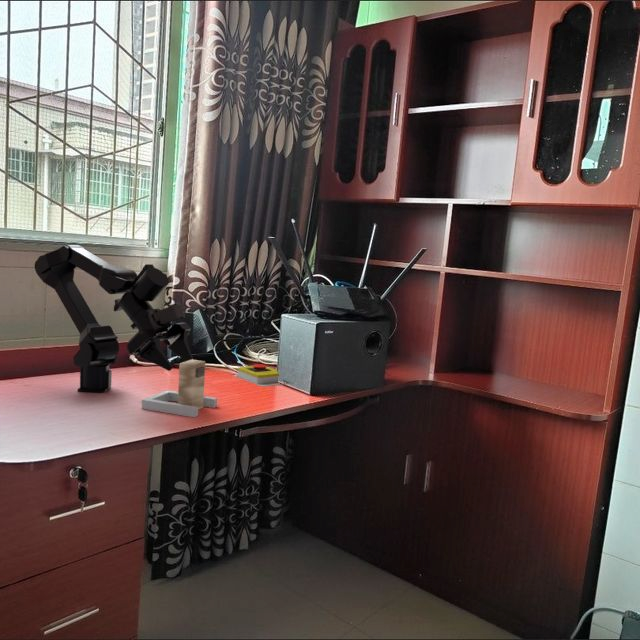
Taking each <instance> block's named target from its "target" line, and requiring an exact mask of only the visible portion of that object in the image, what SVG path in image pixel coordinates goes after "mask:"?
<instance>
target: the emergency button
mask: <svg viewBox="0 0 640 640" xmlns="http://www.w3.org/2000/svg"><path fill="white" fill-rule="evenodd" d="M277 370H278V369H276V368H272V367H268V366H267V365H266V364H261V363H260V364H259V363H255V364H253V365H249V366H239V367H237V374H234V377H236V378H238V379H241V380H244V381H245V382H248V383H251V384H255V385H256V386H259V387H274V386H281V385H283V384H280V383H278V376H279V373H278V372H277Z"/></svg>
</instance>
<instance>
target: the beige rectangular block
mask: <svg viewBox="0 0 640 640" xmlns="http://www.w3.org/2000/svg"><path fill="white" fill-rule="evenodd" d="M205 376H206V361H205V360H199V359H198V360H197V359H194V358H193V359H192V360H189V361H185V360H184V361H182V362H180V363H179V369H178V391H177V392H178V402H177V404H183V405H189V406H195V407H198V411H199V410H200V409H203V408H204V406H203V402H204V396H205V381H206V380H205V379H206V378H205Z"/></svg>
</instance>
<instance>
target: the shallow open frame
mask: <svg viewBox="0 0 640 640" xmlns="http://www.w3.org/2000/svg"><path fill="white" fill-rule="evenodd" d="M203 407H207V408H214V409H215V408H216V407H218V397H214V396H205V395H204V402H203ZM141 409H144V410H149V411H154V412H155V411H156V412H161V413H166V414H172V415H179V416H184V417H190V418H196V417H198V416H199V410H198V407H195V406H189V405H183V404H178V391H175V390H164V391H162V392H158V393H156V394H153V395H151V396H148V397H146V398H143V399H142V400H141Z"/></svg>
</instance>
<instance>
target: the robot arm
mask: <svg viewBox="0 0 640 640" xmlns="http://www.w3.org/2000/svg"><path fill="white" fill-rule="evenodd" d="M33 267H34V270H35V273H36V274H37V277H39V279H40V280H41V281H42V282H43V284H46V285H47V286H48V287H50V288H52V289H54V292H56V294H57V296H58V298H59V299H60V301H61V303H62V305H63V306H64V308H65V310H66V312H67V314H68V316H69V317H70V318H71V321H72V322H73V324H74V325H75V327H76V329H77V331H78V333H79V339H78V341H79V342H78V347H79V350H78V351H77V352H76V353H75V354H74V356H73V357H72V358H73V359H72V360H73V363H74V366H76V367H79V369H80V370H79V387H78V388H77V392H87V393H88V392H90V393H105V392H107V391H108V390H109V389H110V388H111V387H112V376H113V375H112V370H111V369H110V365H115V364H116V361H117V358H118V355H119V351H120V343H119V341H118V339H119V337H118V336H117V335H116V334H115V333H114V330H113V328H112V326H110V325H101V324H99V322H98V320H97V319H96V317H95V315H94V314H93V312H92V310H91V308H90V307H89V304H87V301H86V300H85V298H84V296H83V295H82V293H81V291H80V289H79V288H78V285H76V282H75V281H74V277H75V272H76V271H75V270H76V269H77V268H78V269H80V270H82V271H83V272H84V273H86V274H88V275H90V276H92V277H93V278H94V279H96V280H97V281H98V285H99V287H101V288H102V289H103V290H104V291H105V292H106V293H108V294H109V295H121V294H122V296H121V297H120V298H117V299H114V305H113V312H119V311H123V312H124V314H126V316H127V317H128V319H129V320H130V321H131V323H132V324H131V325H130V327H131V329H132V330H136V329H137V330H138V331H137V332H136V334H134V335H133V336H132V337H131V338H130V339H129V340H128V341H127V343H126V350H127V351H128V352H129V354H130V355H131V356H134V355H136V357H137V358H139V357H140V358H141V359H145V360H146V361H149V362H150V363H153V364H154V365H156V366H158V367H160V368H162V369H164V370H166V371H168V372H169V371H171V370H172V369H173V366H172V364H171V361H170V360H169V358H168V357H167V355H166V354H165V352H164V351H163V349H162V347H161V341H163V342H164V344H165V345H167V346H168V347H167V348H168V349H169V350H170V351H172V352H173V353H174V354H175V355H176V356H178V357H180V358H181V359H182V360H184V362H185V361H189V360H192V359H193V360H194V358H193V355H192V353H191V349H190V346H189V342H188V338H189V335H190V331H191V330H192V328H191V327H190V326H189V324H188V323H187V322H183V321H182V322H177V323H174V324H173V323H172V322H175V321H178V320H180V319H184V318H186V315H185V314H186V310H187V308H186V307H184V305H183V304H181V302H174V303H173V304H170V306H167V307H165V308H162V309H160V308H154V307H153V306H152V305H151V304H150V302H154V301H155V300H156V299H157V298H158V297H159V296H160V294H162V292H163V291H164V290H165V288H167V286H169V283H170V280H169V278H168V275H167V274H165V273H164V272H163V271H162V270H160V269H159V268H156V267H155V266H154V264H152V263H151V264H148V263H146V264H145V265H143V267H142V269H141V270H140V272H139V273H138V274H137V272H136V271H134V270H133V269H130V268H126V267H124V266H123V267H122V266H117V265H113V264H111V263H109V262H107V261H106V260H104V259H102V258H100V257H99V256H97V255H95V254H93V253H91V252H90V251H88V250H87V249H85V247H83V246H81V245H78V244H77V245H76V244H64V245H62V246H61V247H59V248H58V249H55V250H53V251H51V252H47V253H45V254H43V255H42V254H41V255H39V256H38V258H37V259H36V260H35V262H34V266H33Z"/></svg>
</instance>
